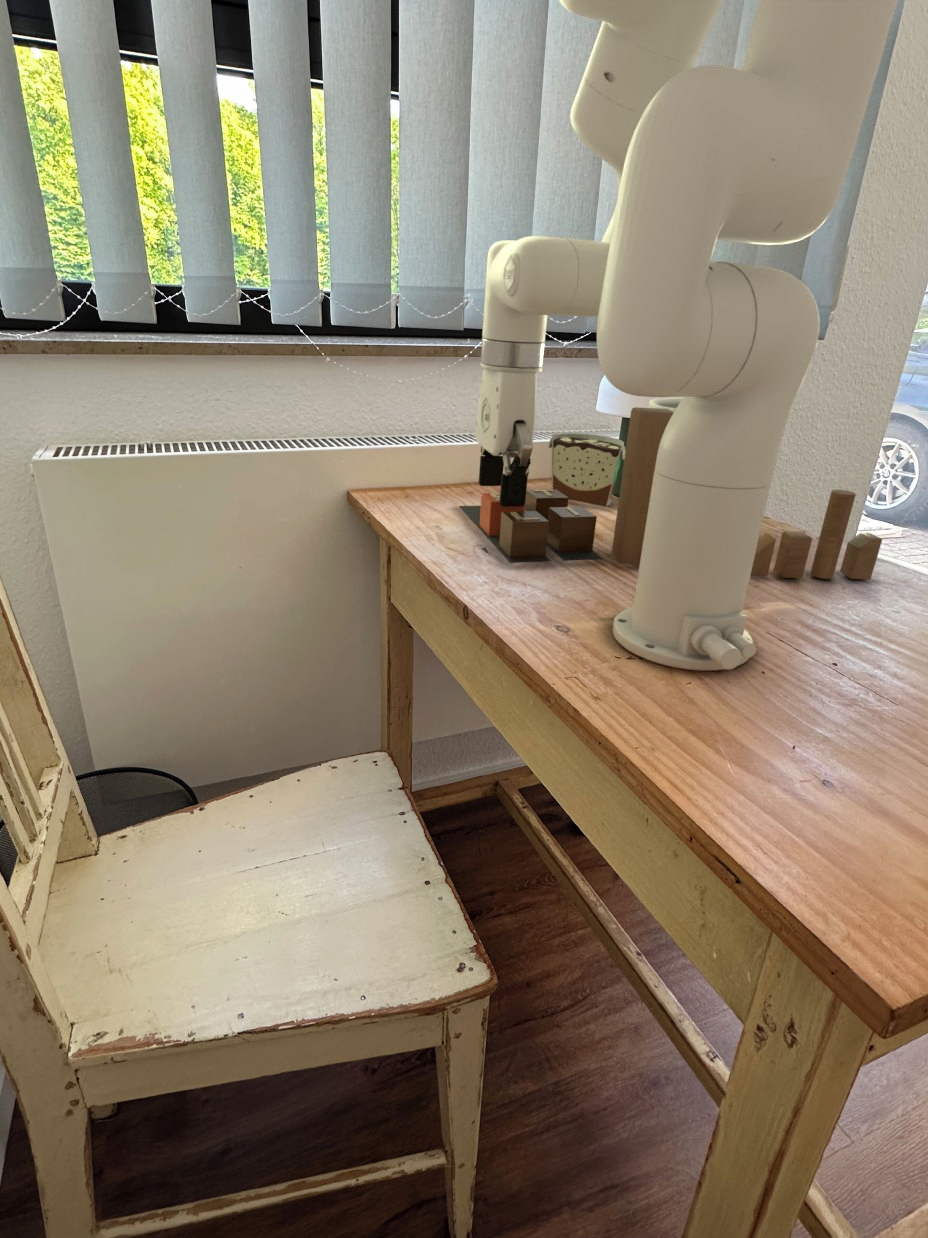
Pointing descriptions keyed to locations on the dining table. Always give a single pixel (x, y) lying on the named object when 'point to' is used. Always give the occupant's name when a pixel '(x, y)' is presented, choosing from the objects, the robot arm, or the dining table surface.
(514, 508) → the letter S
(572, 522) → the slotted brown box
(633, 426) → the wooden block
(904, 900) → the dining table surface
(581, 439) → the food container
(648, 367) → the robot arm
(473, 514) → the flat dark green strips
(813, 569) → the wood blocks
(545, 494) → the letter T
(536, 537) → the box with white label
